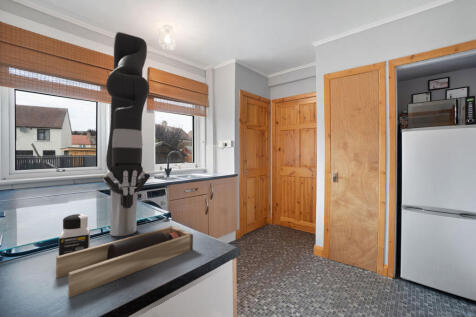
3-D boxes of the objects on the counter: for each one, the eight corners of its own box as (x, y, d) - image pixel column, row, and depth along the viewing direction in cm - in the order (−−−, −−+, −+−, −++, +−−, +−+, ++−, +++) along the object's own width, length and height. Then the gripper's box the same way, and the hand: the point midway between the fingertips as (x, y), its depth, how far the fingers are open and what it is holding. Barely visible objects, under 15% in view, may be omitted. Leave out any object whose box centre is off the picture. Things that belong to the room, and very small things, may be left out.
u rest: (56, 276, 56) (56, 256, 55) (171, 239, 81) (171, 226, 81) (69, 297, 48) (70, 274, 48) (192, 249, 73) (193, 234, 73)
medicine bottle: (58, 262, 63) (58, 220, 62) (62, 252, 69) (62, 214, 68) (88, 256, 66) (89, 217, 66) (89, 247, 72) (90, 211, 72)
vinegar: (109, 238, 61) (172, 225, 76) (104, 259, 62) (167, 242, 78) (119, 254, 57) (183, 237, 72) (113, 276, 58) (177, 254, 74)
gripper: (143, 147, 70) (142, 202, 70) (96, 145, 59) (95, 209, 60) (156, 147, 65) (155, 206, 65) (106, 145, 55) (105, 214, 55)
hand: (126, 207), depth 62 cm, fingers closed
